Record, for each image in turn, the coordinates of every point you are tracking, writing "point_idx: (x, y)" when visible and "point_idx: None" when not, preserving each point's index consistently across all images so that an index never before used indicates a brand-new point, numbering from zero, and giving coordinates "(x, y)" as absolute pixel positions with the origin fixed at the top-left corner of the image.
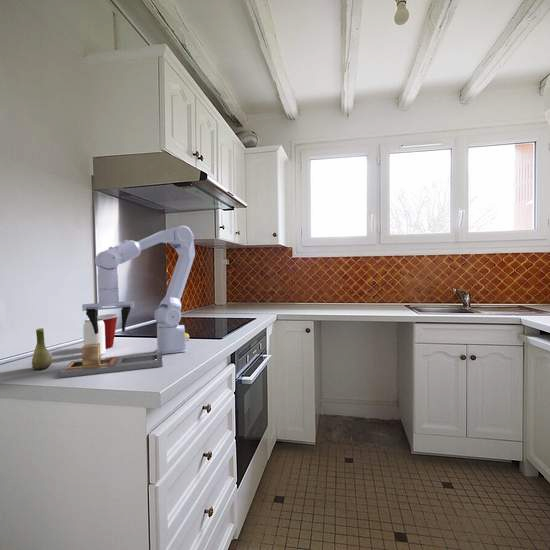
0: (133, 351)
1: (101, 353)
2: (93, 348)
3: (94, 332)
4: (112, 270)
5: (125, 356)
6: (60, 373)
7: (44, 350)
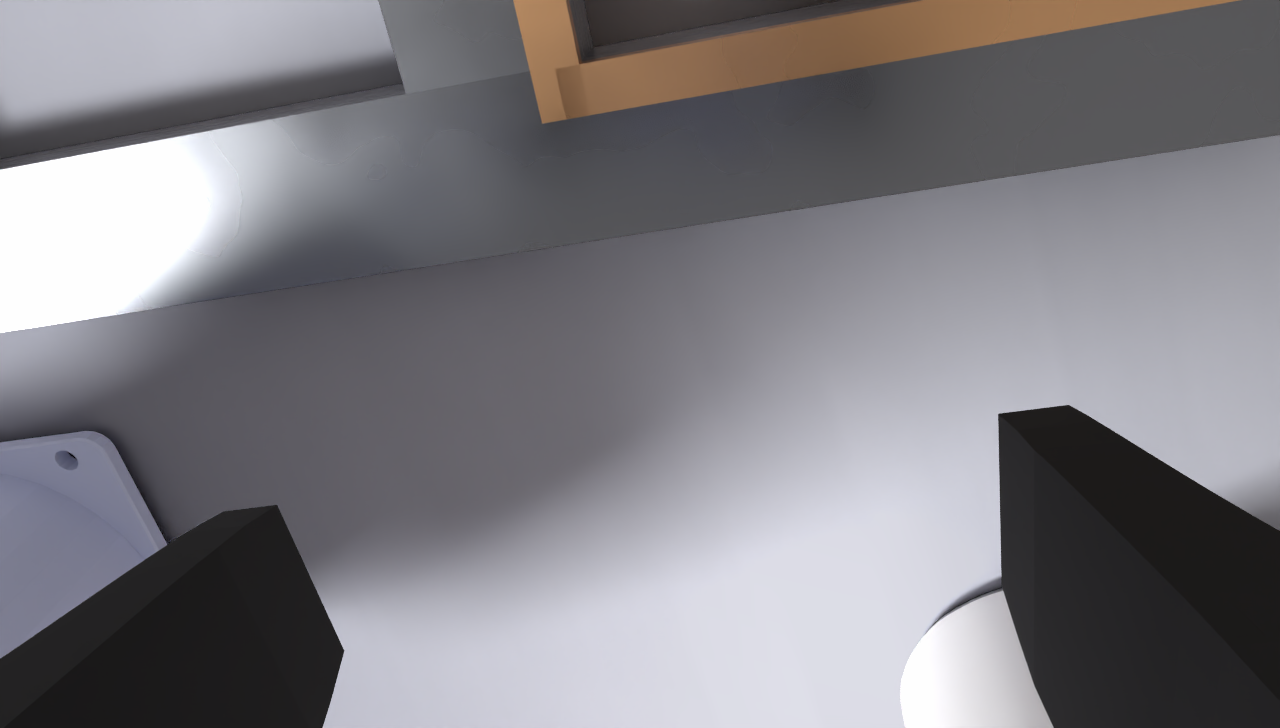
0: (538, 689)
1: (935, 634)
2: None
3: (1102, 428)
4: None
5: (415, 217)
6: None
7: None
